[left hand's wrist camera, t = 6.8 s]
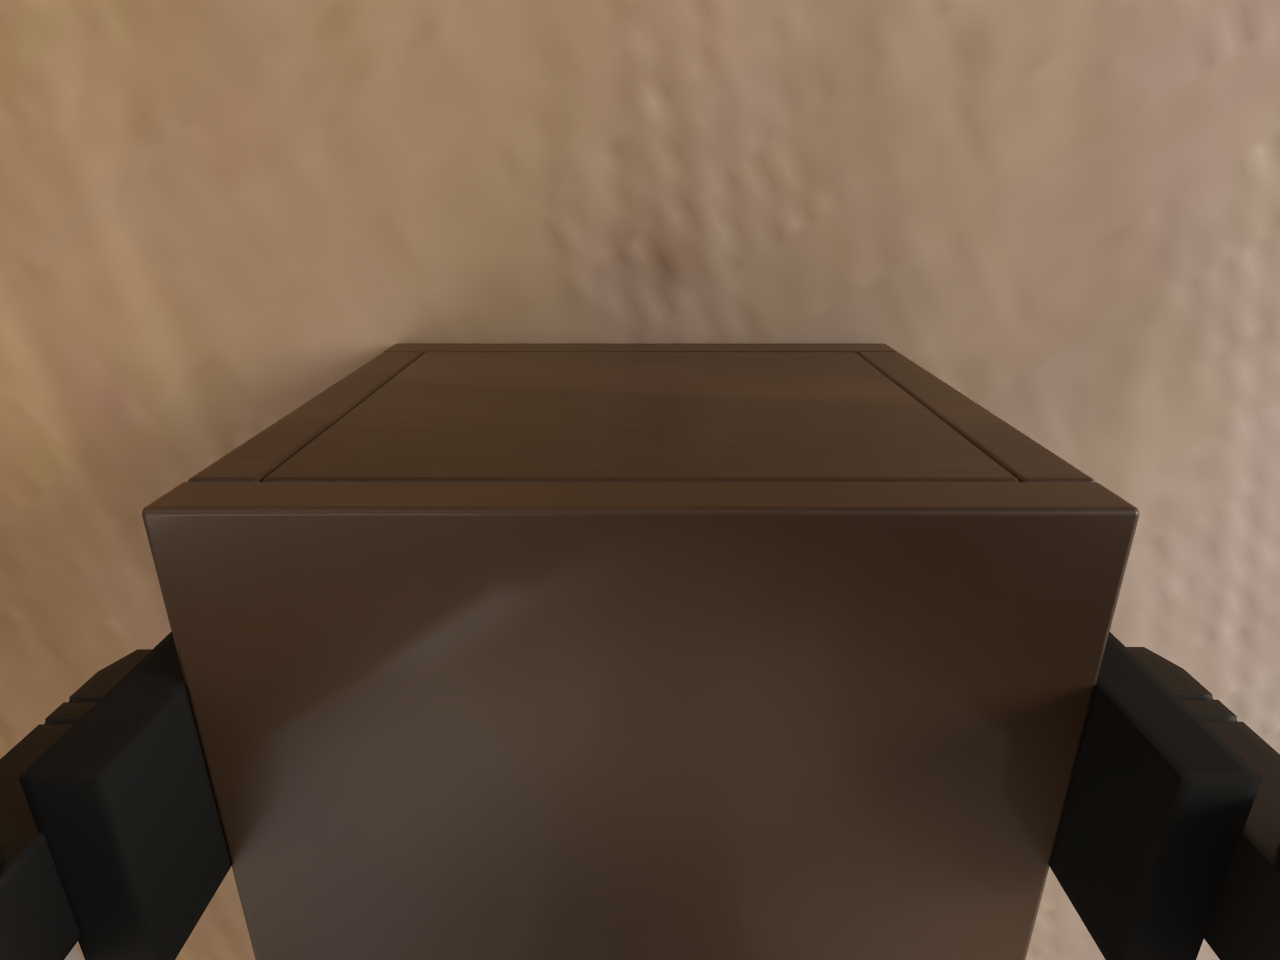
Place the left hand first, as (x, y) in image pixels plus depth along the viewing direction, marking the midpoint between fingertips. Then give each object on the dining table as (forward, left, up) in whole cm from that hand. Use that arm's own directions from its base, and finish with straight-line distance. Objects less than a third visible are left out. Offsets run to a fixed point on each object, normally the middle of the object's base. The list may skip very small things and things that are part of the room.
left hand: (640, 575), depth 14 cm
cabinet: (+5, 0, -4) cm, 6 cm away
